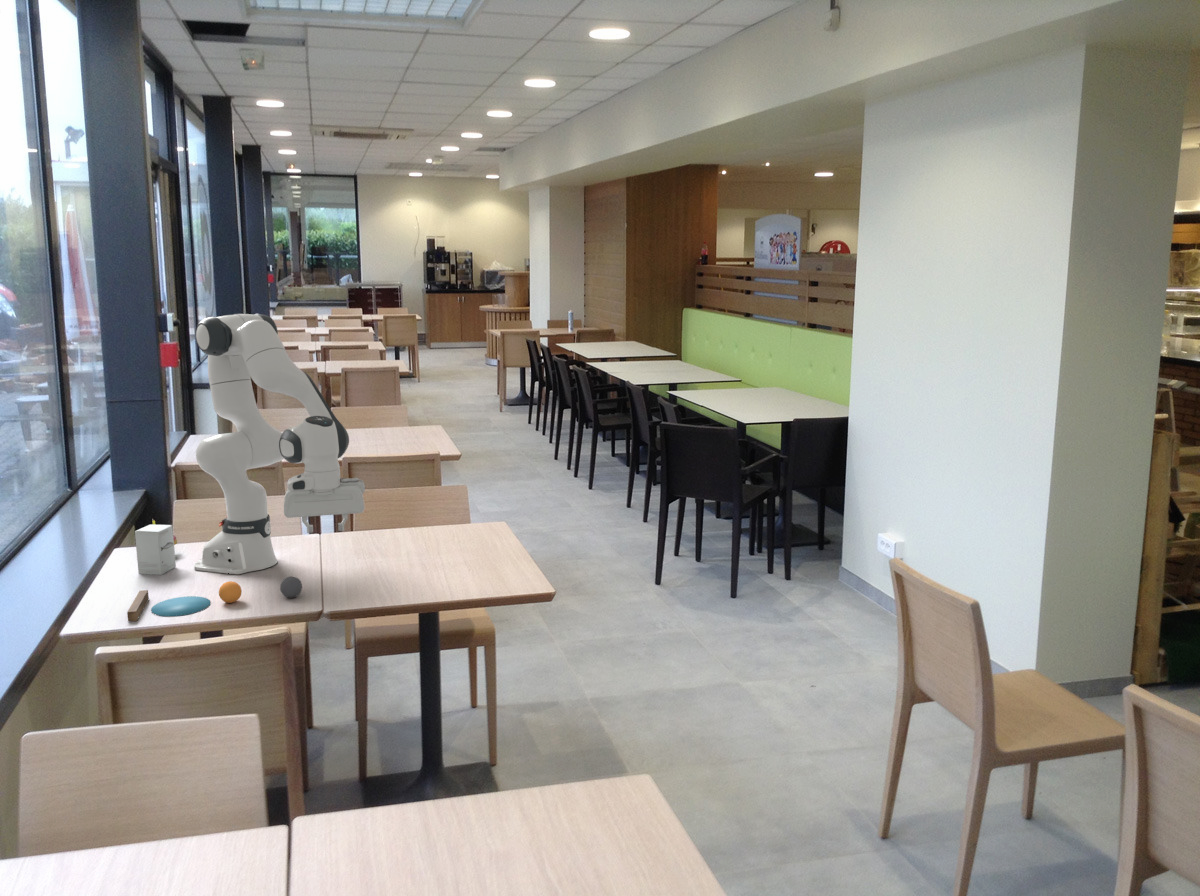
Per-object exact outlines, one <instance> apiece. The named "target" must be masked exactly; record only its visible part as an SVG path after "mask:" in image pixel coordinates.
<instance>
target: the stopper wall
mask: <svg viewBox="0 0 1200 896" xmlns="http://www.w3.org/2000/svg"><path fill="white" fill-rule="evenodd" d="M148 599H150V598H149V590H148V589H146V590H145V589H144V590H143V589H142V590H139V591H138V592H137V595H136V596H135V598H134V599H133V601H132V603H131V605H130V606H129V608H128V610H127V611H126V613H127V622H128V621H131V622H138V620H139V618H140V616H141V615H142V613H143V611H144V609H145V607H146V606H147V603H148V602H147V601H149V600H148ZM143 608H144V609H143ZM142 610H143V611H142ZM141 612H142V613H141ZM140 614H141V615H140ZM138 617H139V618H138Z"/></svg>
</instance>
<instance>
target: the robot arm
mask: <svg viewBox="0 0 1200 896" xmlns="http://www.w3.org/2000/svg"><path fill="white" fill-rule="evenodd" d="M195 340H196V344H197V346H198V349H199V350H200V351H201V352H202V353H203V354H205V355H207V375H208V376H207V377H208V383H209V388H210V392H211V393H210V394H211V401H212V405H213V409H214V412H215V413H216V414H217V415H218V416H219V417H220V418H222V419H225V420H227V421H230V422H231V423H232V424H233V425H234V426H235V428H236V430H237V431H234V432H226V433H220V434H215V435H212V436H210V437H207V438H204V439H201V440H200V441H199V443H198V445H197V446H196V447H197V448H196V450H195V459H196V461H197V464H198V466H199V467H200V469H201V470H202V471H203V472H204V473H206V474H209V475H210V476H212V477H213V478H214V479H215V480H216V481H217V482H218V484H219V486H220V487H221V490H222V492H223V496H224V501H225V507H226V508H225V509H226V517H225V518H224V519H222V520H221V521H220V522H218V524H219V525H218V527H222V529H221V531H220V532H218V533H217V534H216V535H215V536H214V537H213V538H211V539H210V540H209V541H208V542H206V544H205V545H204V546H203V550H202V555H201V557H202V558H201V559H199V560H197V561H196V562H195V564H194V570H195V571H200V572H201V571H203V572H204V571H205V572H209V573H210V572H211V573H221V574H228V573H229V574H230V575H240V574H241V575H242V574H245V573H249V572H256V571H260V570H265V569H267V568H270V567H273V566H275V565H276V564H277V563H278V559H277V557H276V555H275V551H274V550H275V549H274V547H273V544H272V539H271V533H272V530H271V529H272V526H271V525H272V524H271V517H270V514H269V510H268V497H267V489H266V488H264V486H263V485H262V484H261V483H259V482H256V481H253V480H250V479H249V477H248V474H247V471H248V470H252V469H258V468H263V467H268V466H271V465H273V464H276V463H279V462H281V461H282V460H285V461H287V463H290V464H304V468H303V469H304V472H302V473H299V474H297V475H293V476H292V477H290V478H288V480H287V484H286V485H287V490H286V491H285V495H284V502H283V515H284V516H285V518H288V519H289V518H290V519H292V518H301V522H302V523H303V524H304V526H305V527H306V533H307V534H313V533H314V525H313V524H310V523H309V522H308V518H309V517H320V516H335V515H341V517H342V521H341V522H337V526H338V528H337V529H338V532H340V531H341V532H343V531H345V524H346V522H347V520H348V519H349V517H348V516H349V514H362V513H363V512H364V511H365V500H364V495H363V494H364V493H365V491H366V486H365V482H364V480H362V479H361V478H360V479H359V478H358V477H353V478H350V477H349V478H347V477H343V478H341V466H340V463H339V459H340V458H341V457H342V456H343V455H344V454H345V453H346V451H347V450H348V447H349V445H350V437H349V433H348V431H347V430H346V427H345V426H344V425H343V424H342V423H341V421H339V419H338V418H337V417H336V415H335V414H334V412H333V411H332V409H331V408H330V406H329V404H328V402H327V401H326V399H325V398H324V397H323V395H322V393H321V391H320V390H319V388H318V386H317V385H316V383H315V382H314V380H313V379H312V378H311V376H310V375H309V374H308V373H307V372H305V371H304V370H302V369H300V367H298V366H297V365H296V364H295V363H294V362H293V361H292V359H291V357H290V356H289V354H288V352H287V350H286V347H285V345H284V343H283V342H282V340H281V337H280V336H279V335H278V328H277V324H276V322H275V321H274V320H273V318H272V317H270V316H269V315H266V314H261V313H255V314H251V313H250V314H249V313H234V314H226V315H221V316H209V317H206V318H203V319H201V320H200V321H199V322H198V324H197V325H196V328H195ZM252 381H253V383H255V385H256V386H257V387H259V388H261V389H263V390H264V391H265V390H266V391H268V392H272V393H277V394H282V395H286V396H289V397H291V398H294V399H296V400H298V401H299V402H300V403H301V404H302V405H303V406H304V408H305V410H306V411H307V413H308V415H309V416H308V417H306V418H304V420H303V422H302V423H299V424H298V425H295V426H292V427H289V428H287V429H284V431H283V432H282V431H280V429H277V428H275V427H274V426H273V425H271V424H270V423H269V422H268V421H267V420H266V419H265V418H264V416H263V415H262V413H261V412H260V410H259V408H258V405H257V402H256V398H255V397H256V396H255V393H254V389H253V385H252ZM229 574H228V575H229Z"/></svg>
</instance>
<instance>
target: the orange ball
mask: <svg viewBox="0 0 1200 896" xmlns="http://www.w3.org/2000/svg"><path fill="white" fill-rule="evenodd" d="M242 593H243V592H242V587H241V585H240V584H238V582H236V581H232V580H231V581H226V582H224V583H222V584H221V585H220V587H219V590H218V596H219V599H221V600H222V602H224V603H228V604H230V603H231V604H232V603H236V602H237V601H238V600H239V599H240V598H241V596H242Z"/></svg>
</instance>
